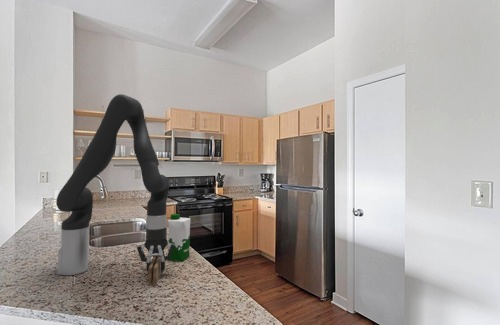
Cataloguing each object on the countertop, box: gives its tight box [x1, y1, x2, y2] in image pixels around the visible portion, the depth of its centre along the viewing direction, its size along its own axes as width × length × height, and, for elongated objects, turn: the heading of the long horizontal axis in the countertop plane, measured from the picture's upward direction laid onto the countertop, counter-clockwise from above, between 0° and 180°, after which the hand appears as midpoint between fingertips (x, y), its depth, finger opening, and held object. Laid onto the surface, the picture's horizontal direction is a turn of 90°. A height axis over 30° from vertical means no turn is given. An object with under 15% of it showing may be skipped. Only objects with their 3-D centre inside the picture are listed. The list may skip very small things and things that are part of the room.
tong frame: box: [147, 253, 160, 287], centre depth 99 cm, size 20×4×7 cm, turn 14°
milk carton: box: [167, 213, 191, 263], centre depth 118 cm, size 9×9×20 cm
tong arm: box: [152, 256, 162, 286], centre depth 97 cm, size 16×3×6 cm, turn 12°
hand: (155, 271), depth 98 cm, fingers open, 4 cm apart
